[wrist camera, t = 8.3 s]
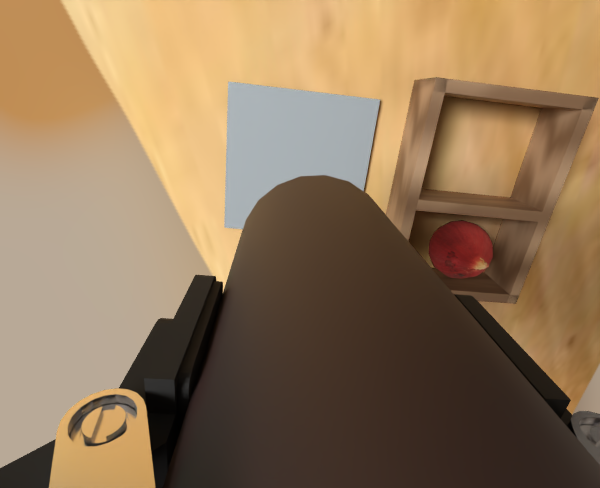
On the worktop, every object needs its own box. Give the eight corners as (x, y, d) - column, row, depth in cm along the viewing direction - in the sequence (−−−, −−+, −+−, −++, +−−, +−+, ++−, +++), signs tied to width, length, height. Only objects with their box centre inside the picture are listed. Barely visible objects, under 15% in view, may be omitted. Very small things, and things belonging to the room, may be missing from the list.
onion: (444, 268, 40) (479, 307, 33) (407, 242, 39) (436, 276, 31) (480, 229, 39) (527, 261, 31) (443, 200, 37) (483, 226, 30)
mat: (229, 81, 32) (228, 81, 31) (378, 99, 33) (380, 99, 32) (225, 225, 37) (224, 227, 37) (354, 237, 38) (354, 238, 38)
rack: (414, 80, 32) (436, 77, 28) (555, 97, 33) (598, 97, 29) (373, 271, 40) (385, 294, 35) (489, 280, 41) (515, 303, 36)
